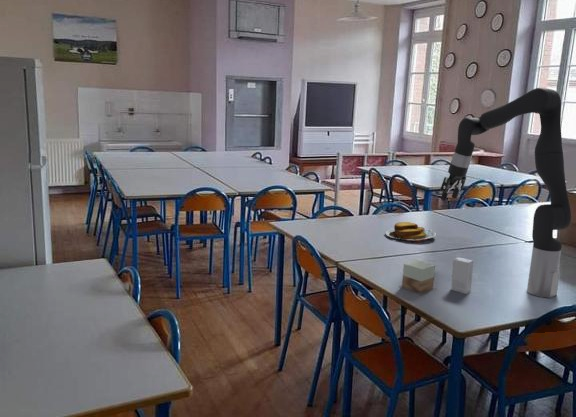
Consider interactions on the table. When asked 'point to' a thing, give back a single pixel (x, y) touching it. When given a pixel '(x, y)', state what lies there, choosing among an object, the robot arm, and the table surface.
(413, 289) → the lower block
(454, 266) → the skincare box
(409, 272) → the upper block
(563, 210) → the robot arm
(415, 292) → the mat
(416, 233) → the food on plate
